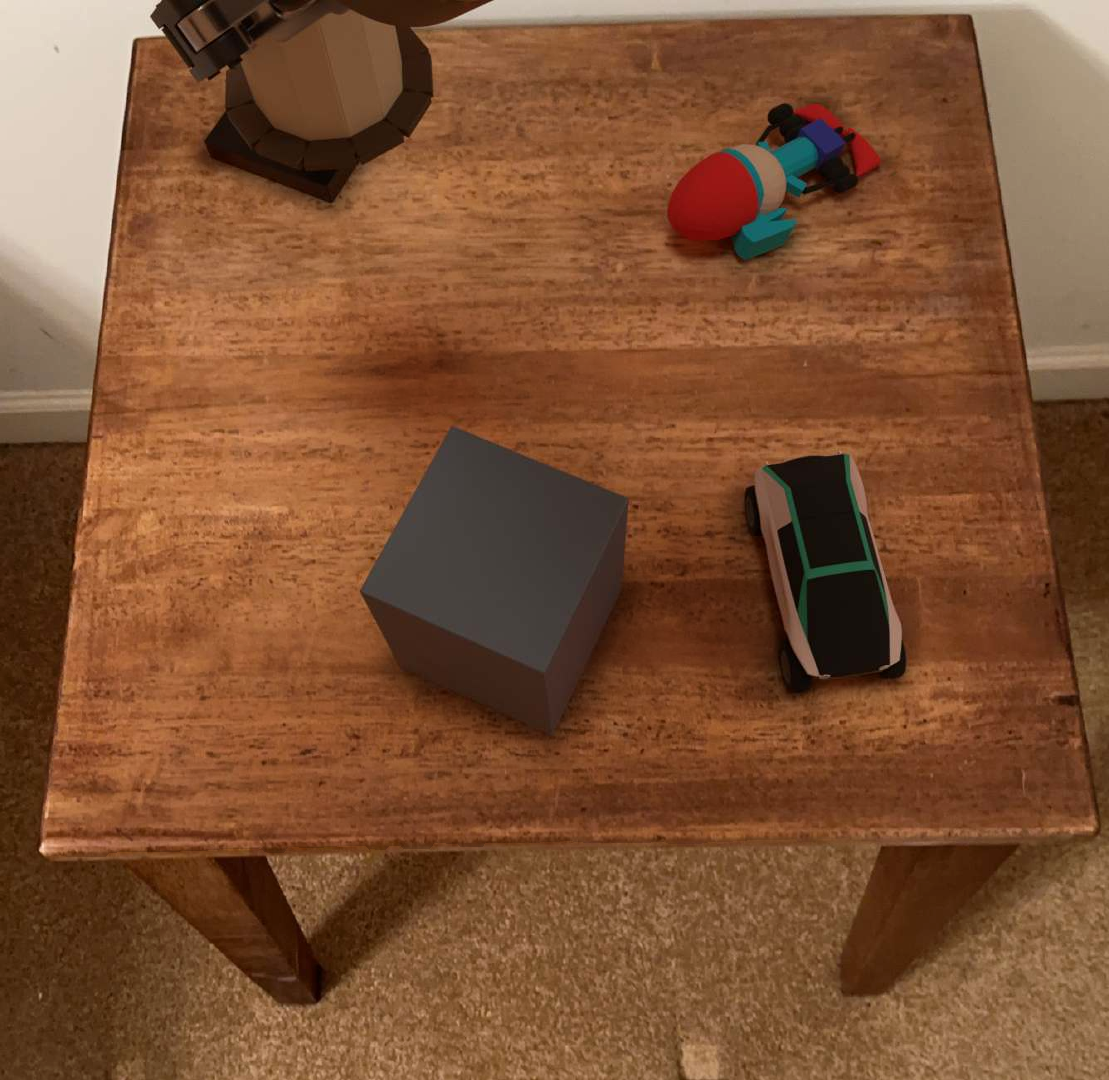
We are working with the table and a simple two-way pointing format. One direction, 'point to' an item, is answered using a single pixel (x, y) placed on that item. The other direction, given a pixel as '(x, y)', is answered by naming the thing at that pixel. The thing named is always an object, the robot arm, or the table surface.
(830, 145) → the toy figure
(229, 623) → the table surface
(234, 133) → the hat stand
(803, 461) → the toy car
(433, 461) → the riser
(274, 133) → the hat
